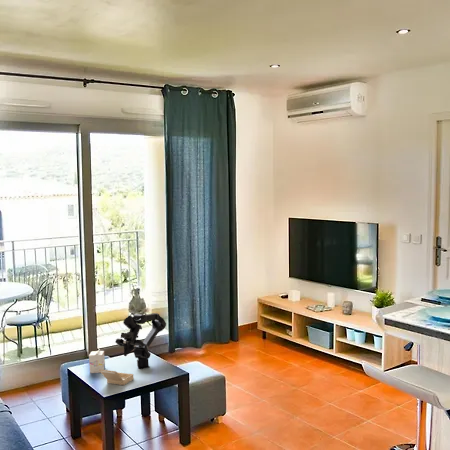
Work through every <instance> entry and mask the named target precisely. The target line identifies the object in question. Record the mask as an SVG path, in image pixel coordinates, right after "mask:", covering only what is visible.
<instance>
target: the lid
mask: <svg viewBox="0 0 450 450" xmlns="http://www.w3.org/2000/svg"><path fill="white" fill-rule="evenodd" d="M99 371H100V372H101V374H102V376H103V377H104V378H105V380H107V379H110V380H118V381H123V379H122V378H121V377H120V376H119V374H118V373H117V372H118V371H116V370H108V369H104V370H101V369H99Z"/></svg>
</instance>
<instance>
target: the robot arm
mask: <svg viewBox="0 0 450 450" xmlns="http://www.w3.org/2000/svg"><path fill="white" fill-rule="evenodd" d="M148 321H151V322H150V323H151V324H152V325H151V327H152V328H151V330H150V331H149V333H147V336H146V337H145V338H144V340H143V341H142V340H141V339H138V338H139V332H140V331H141V330H142V329H143V327H142V325H143V324H145V323H147V322H148ZM122 323H123V325H124V326H125V327H126V328H127V329H128V330H129V331H127V332H121V333H120V338H116V339H115V342H114V343H116V344H117V345H118V346H119V347H123V356H124V357H127V356H128V355H129V354H130V353H131V352H132V351H133V354H134V358H135V359H137V360H136V364H137V365H136V366H137V367H138V369H146V368H150V366H149V365H150V364H149V359H150V357H151V352H149V347H150V345H151V344H152V342H154V340H155V338H156V337H157V335H158V334H159V333H160V332H162V331H163V330H165V328H166V326H167V323H166V320H165V319H164V318H163V317H162V316H161V315H160V314H159V313H157V312H155V313H154V312H153V313H146V314H141V313H140V314H139V313H135V314H133V316H132V315H128V316H127V317H126V318H124V319H123V322H122Z"/></svg>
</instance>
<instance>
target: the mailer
mask: <svg viewBox="0 0 450 450" xmlns="http://www.w3.org/2000/svg"><path fill="white" fill-rule="evenodd" d="M116 372H117V373H118V374H119V376H120V377H121V378H122V379H123V381H118V380H110V379H106V382H107V383H106V384H111V385H118V386H125V385H127V384H128V383H130V382H132V381H133V380H134V379H135V378H134V374H133V373H125V372H118V371H116Z"/></svg>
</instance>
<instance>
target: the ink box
mask: <svg viewBox="0 0 450 450" xmlns="http://www.w3.org/2000/svg"><path fill="white" fill-rule="evenodd" d="M105 359H106V358H105V350H101V349H100V348H99V349H98V350H95V351H93V350H92V351H90V353H89V355H88V360H89V373H90V374H99V373H101V372H100V371H99V369H101V370H106V369H105V368H106V361H105ZM101 374H102V373H101Z"/></svg>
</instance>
